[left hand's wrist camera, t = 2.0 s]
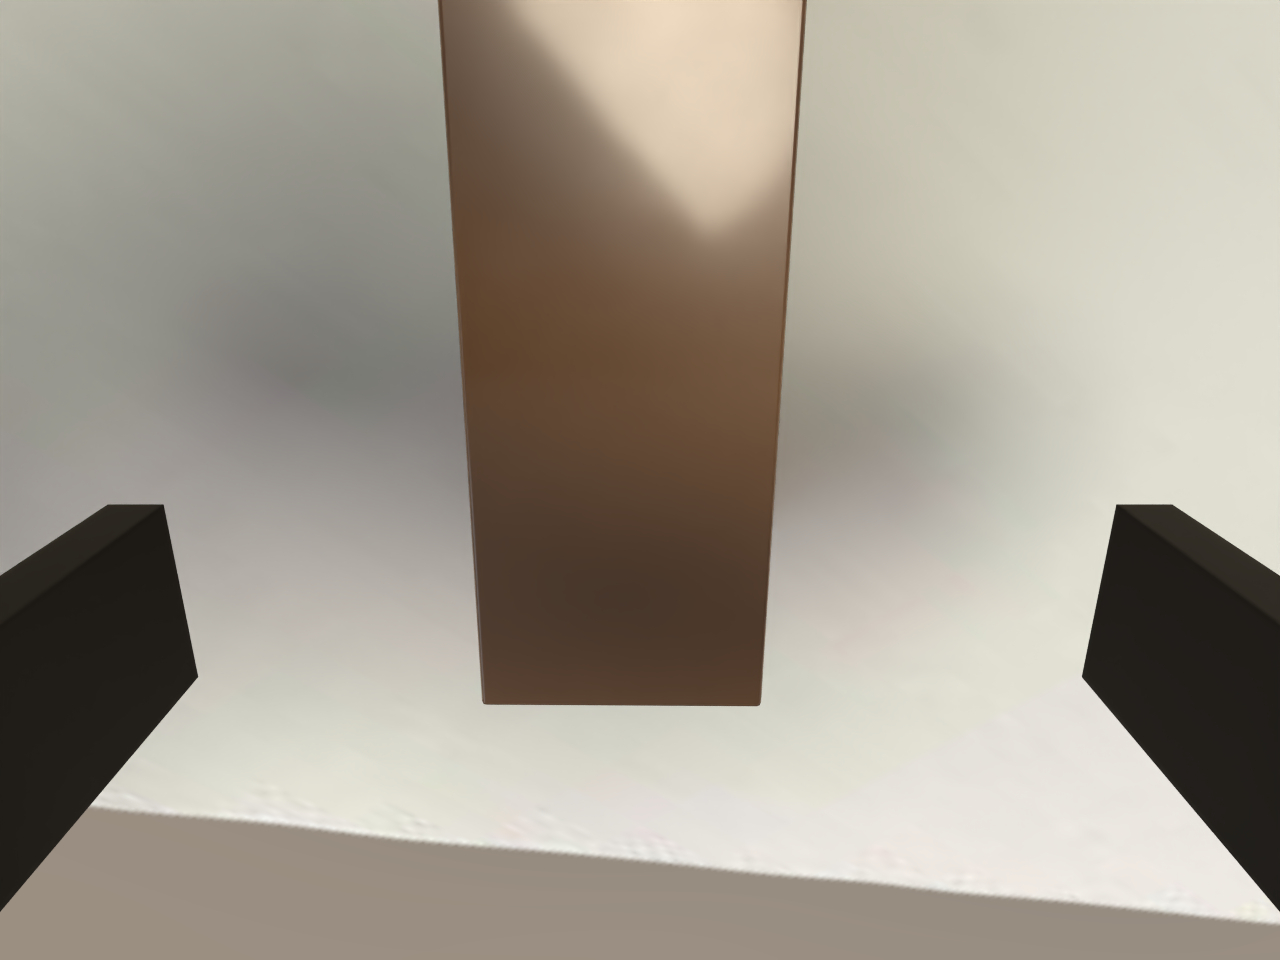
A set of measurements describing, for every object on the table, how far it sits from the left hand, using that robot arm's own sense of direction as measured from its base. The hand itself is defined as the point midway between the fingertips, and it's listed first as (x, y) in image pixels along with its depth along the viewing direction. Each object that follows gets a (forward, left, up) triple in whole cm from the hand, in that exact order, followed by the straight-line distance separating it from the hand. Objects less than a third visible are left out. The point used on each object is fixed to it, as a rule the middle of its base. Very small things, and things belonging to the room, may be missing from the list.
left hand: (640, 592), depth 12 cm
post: (-3, +27, -12) cm, 29 cm away
